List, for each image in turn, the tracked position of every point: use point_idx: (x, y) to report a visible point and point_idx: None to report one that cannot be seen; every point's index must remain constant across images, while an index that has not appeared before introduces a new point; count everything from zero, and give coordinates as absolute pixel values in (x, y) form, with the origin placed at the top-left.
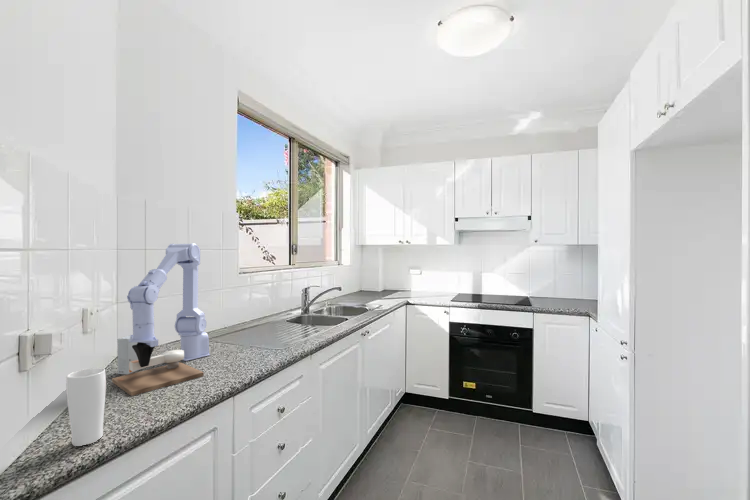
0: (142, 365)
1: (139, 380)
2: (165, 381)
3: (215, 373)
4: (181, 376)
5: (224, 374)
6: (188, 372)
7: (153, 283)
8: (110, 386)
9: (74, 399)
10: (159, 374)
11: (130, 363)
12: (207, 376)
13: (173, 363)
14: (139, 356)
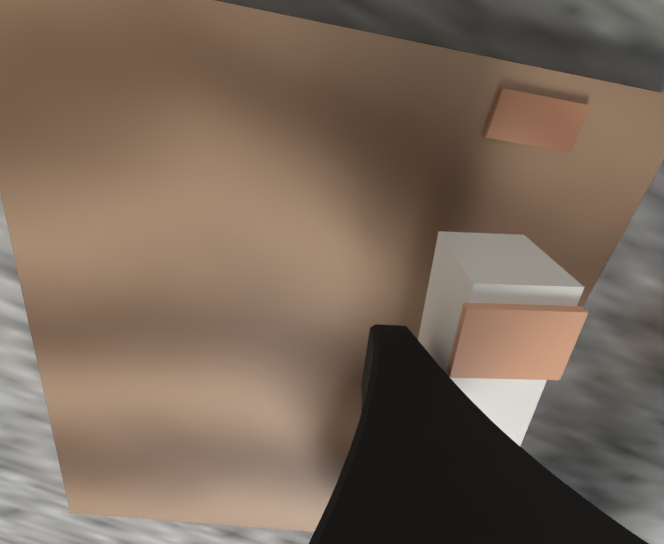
0: (370, 345)
1: (311, 213)
2: (57, 310)
3: (77, 528)
4: (97, 420)
5: (12, 538)
6: (156, 475)
7: None
8: (556, 9)
9: None
10: (312, 373)
11: (536, 279)
12: (54, 491)
13: None
14: (384, 431)
